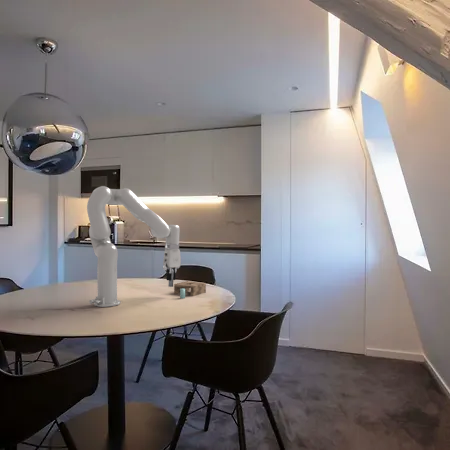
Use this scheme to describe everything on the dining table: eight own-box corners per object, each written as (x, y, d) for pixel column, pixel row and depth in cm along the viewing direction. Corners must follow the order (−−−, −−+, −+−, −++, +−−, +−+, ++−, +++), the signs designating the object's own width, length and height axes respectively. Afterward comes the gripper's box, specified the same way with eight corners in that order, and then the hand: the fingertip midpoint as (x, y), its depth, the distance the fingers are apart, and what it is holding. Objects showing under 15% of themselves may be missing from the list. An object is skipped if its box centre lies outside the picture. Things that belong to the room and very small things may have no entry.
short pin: (183, 298, 195) (183, 289, 195) (179, 298, 197) (179, 289, 197) (186, 297, 197) (186, 288, 197) (182, 297, 199) (182, 288, 199)
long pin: (171, 287, 198) (171, 265, 198) (167, 286, 200) (168, 264, 200) (174, 286, 201) (174, 264, 201) (170, 285, 202) (171, 264, 202)
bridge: (193, 296, 202) (193, 286, 202) (174, 293, 209) (174, 284, 209) (205, 292, 212) (205, 283, 212) (187, 290, 220) (187, 281, 219)
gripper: (167, 247, 191) (166, 282, 191) (186, 247, 205) (185, 279, 205) (157, 246, 195) (155, 280, 195) (176, 246, 209) (175, 277, 209)
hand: (171, 279), depth 200 cm, fingers closed on long pin, 2 cm apart
